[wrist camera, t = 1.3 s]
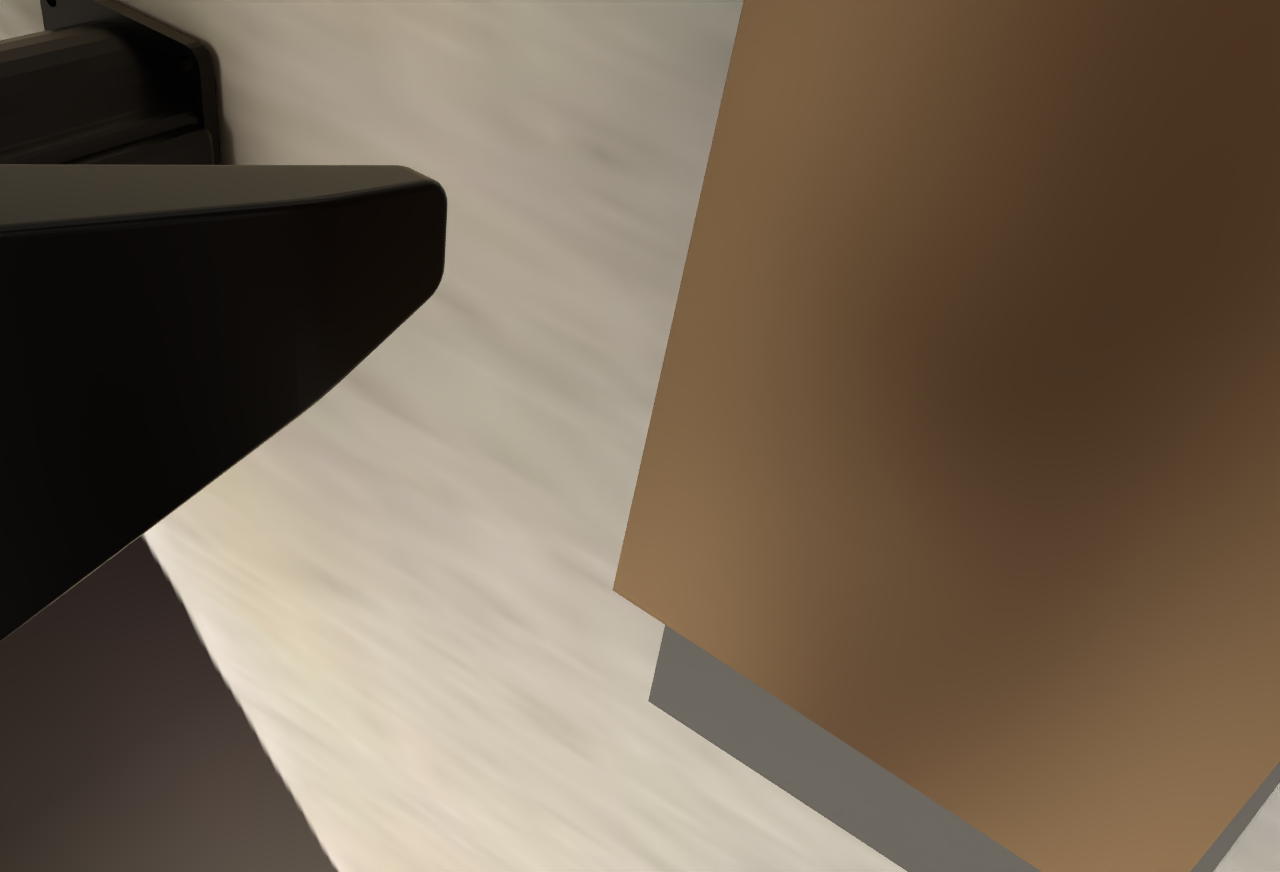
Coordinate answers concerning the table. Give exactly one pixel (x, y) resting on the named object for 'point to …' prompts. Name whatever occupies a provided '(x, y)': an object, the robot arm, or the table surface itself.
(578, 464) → the table surface
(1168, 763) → the walnut lid
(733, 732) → the rubber mat
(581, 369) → the table surface
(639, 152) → the table surface
